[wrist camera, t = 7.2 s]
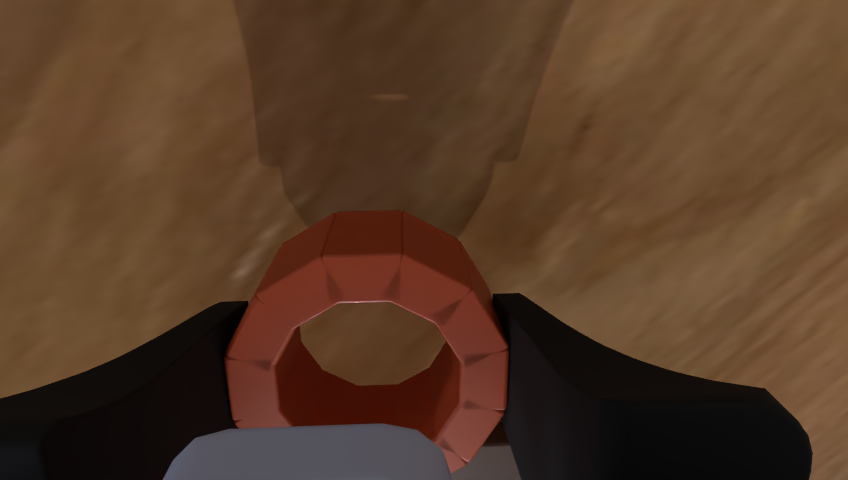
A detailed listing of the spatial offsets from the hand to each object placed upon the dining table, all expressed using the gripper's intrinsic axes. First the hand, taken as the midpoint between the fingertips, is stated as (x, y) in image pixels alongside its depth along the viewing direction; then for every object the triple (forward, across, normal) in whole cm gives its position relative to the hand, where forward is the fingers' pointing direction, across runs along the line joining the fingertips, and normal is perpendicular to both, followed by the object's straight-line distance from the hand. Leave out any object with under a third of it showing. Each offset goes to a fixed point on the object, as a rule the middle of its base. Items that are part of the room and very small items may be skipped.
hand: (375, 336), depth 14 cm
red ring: (+1, 0, 0) cm, 1 cm away
